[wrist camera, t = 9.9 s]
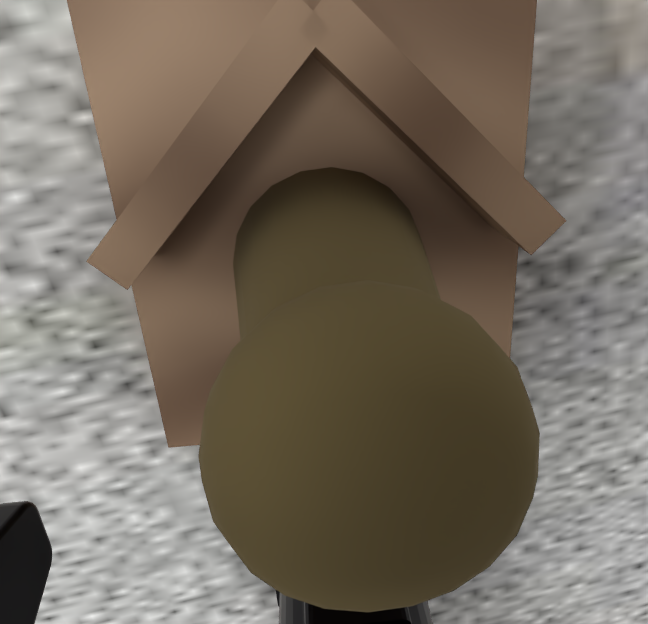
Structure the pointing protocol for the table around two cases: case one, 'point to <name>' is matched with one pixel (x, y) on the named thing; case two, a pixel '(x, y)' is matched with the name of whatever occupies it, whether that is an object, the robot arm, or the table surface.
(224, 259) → the dog kennel
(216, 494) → the cork
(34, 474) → the table surface
